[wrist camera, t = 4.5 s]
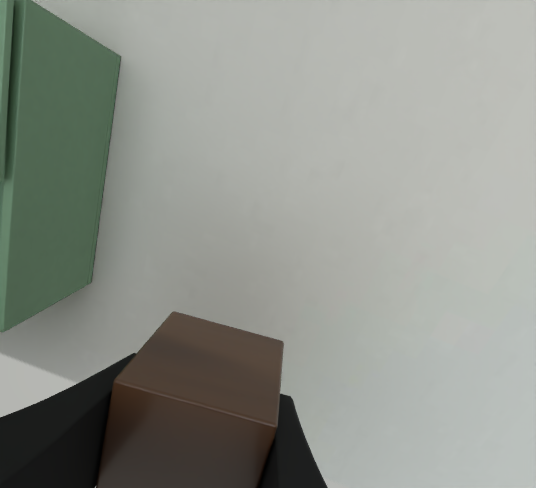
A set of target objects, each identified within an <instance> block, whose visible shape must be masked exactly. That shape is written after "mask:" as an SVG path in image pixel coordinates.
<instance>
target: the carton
mask: <svg viewBox="0 0 536 488" xmlns="http://www.w3.org/2000/svg"><path fill="white" fill-rule="evenodd" d="M120 59H121V56H119V55H118V54H116V53H115V52H113V51H111V50H110V49H108V48H107V47H105V46H103V45H102V44H100V43H99V42H97V41H95V40H94V39H92V38H91V37H89V36H87V35H86V34H84V33H83V32H81V31H79V30H78V29H76V28H75V27H73V26H71V25H70V24H68V23H67V22H65V21H63V20H62V19H60V18H59V17H57V16H55V15H54V14H52V13H51V12H49V11H47V10H46V9H44V8H43V7H41V6H39V5H38V4H36V3H35V2H33V1H31V0H0V332H5V331H7V330H9V329H10V328H12V327H14V326H16V325H17V324H19V323H21V322H23V321H24V320H26V319H28V318H30V317H32V316H33V315H35V314H37V313H39V312H40V311H42V310H44V309H46V308H47V307H49V306H51V305H53V304H55V303H56V302H58V301H60V300H62V299H63V298H65V297H67V296H69V295H70V294H72V293H74V292H76V291H78V290H79V289H81V288H83V287H85V286H86V285H88V284H90V283H91V279H92V272H93V264H94V257H95V249H96V241H97V234H98V226H99V218H100V211H101V203H102V196H103V188H104V180H105V173H106V165H107V158H108V150H109V142H110V135H111V127H112V120H113V112H114V104H115V97H116V89H117V81H118V74H119V66H120Z"/></svg>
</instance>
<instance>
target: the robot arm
mask: <svg viewBox="0 0 536 488" xmlns="http://www.w3.org/2000/svg"><path fill="white" fill-rule="evenodd" d="M135 355H136V353H133V354H131V355H129V356H127V357H126V358H124V359H122V360H120V361H118V362H116V363H115V364H113V365H111V366H109V367H108V368H106V369H104V370H102V371H100V372H99V373H97V374H95V375H93V376H91V377H89V378H87V379H85V380H84V381H82V382H80V383H78V384H76V385H74V386H72V387H70V388H68V389H66V390H64V391H62V392H59V393H57V394H55V395H53V396H51V397H49V398H47V399H45V400H43V401H40V402H38V403H36V404H33V405H31V406H29V407H26V408H24V409H21V410H19V411H16V412H13V413H11V414H8V415H6V416H3V417H0V488H95V486H96V484H97V478H98V472H99V466H100V460H101V454H102V448H103V442H104V436H105V430H106V424H107V418H108V412H109V406H110V400H111V394H112V388H113V382H114V380H115V378H116V377H117V376H118V375H119V374H120V372H121V371H122V370H123V369H124V368H125V367H126V365H127V364H128V363H129V362H130V361H131V360H132V358H133V357H134V356H135ZM259 488H327V485H326V483H325V481H324V479H323V477H322V475H321V473H320V471H319V469H318V467H317V464H316V462H315V460H314V458H313V455H312V453H311V450H310V448H309V445H308V443H307V440H306V438H305V435H304V433H303V430H302V427H301V424H300V421H299V418H298V415H297V412H296V409H295V406H294V402H293V399H292V398H291V396H287V395H284V394H280V400H279V414H278V427H277V430H276V433H275V436H274V440H273V443H272V446H271V449H270V453H269V456H268V459H267V462H266V466H265V469H264V472H263V475H262V478H261V482H260V485H259Z"/></svg>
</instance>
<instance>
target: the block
mask: <svg viewBox="0 0 536 488" xmlns="http://www.w3.org/2000/svg"><path fill="white" fill-rule="evenodd" d="M283 346H284V343H283V341H280V340H277V339H273V338H269V337H266V336H262V335H258V334H255V333H251V332H248V331H244V330H240V329H237V328H233V327H229V326H226V325H222V324H218V323H215V322H211V321H207V320H204V319H200V318H196V317H193V316H189V315H185V314H182V313H178V312H172V313H171V314H170V315H169V316H168V318H167V319H166V320H165V321H164V322H163V323H162V325H161V326H160V327H159V328H158V329H157V330H156V332H155V333H154V334H153V335H152V336H151V337H150V339H149V340H148V341H147V342H146V343H145V344H144V346H143V347H142V348H141V349H140V350H139V351H138V353H137V354H136V355H135V356H134V357H133V358H132V360H131V361H130V362H129V363H128V364H127V365H126V367H125V368H124V369H123V370H122V371H121V372H120V374H119V375H118V376H117V377H116V378H115V380H114V382H113V388H112V394H111V400H110V406H109V412H108V418H107V424H106V430H105V436H104V442H103V448H102V454H101V460H100V466H99V472H98V478H97V484H96V488H259V485H260V482H261V478H262V475H263V472H264V469H265V466H266V462H267V459H268V456H269V453H270V449H271V446H272V443H273V440H274V436H275V433H276V430H277V427H278V414H279V400H280V387H281V373H282V360H283Z"/></svg>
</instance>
